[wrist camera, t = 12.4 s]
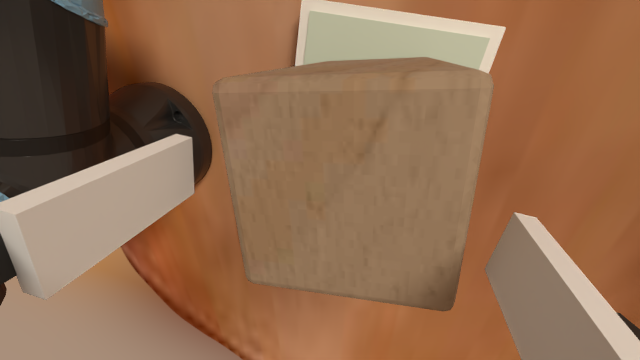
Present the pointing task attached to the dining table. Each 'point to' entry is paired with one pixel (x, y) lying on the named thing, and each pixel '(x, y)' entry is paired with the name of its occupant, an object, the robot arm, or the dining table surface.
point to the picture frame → (391, 36)
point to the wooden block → (356, 175)
